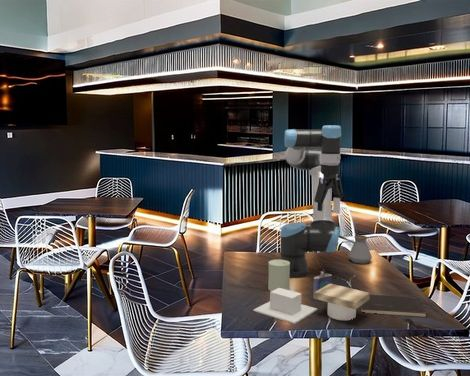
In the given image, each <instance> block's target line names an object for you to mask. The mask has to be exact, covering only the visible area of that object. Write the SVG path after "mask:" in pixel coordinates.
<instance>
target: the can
mask: <svg viewBox="0 0 470 376" xmlns="http://www.w3.org/2000/svg"><path fill="white" fill-rule="evenodd" d="M290 278H291V277H290V262H289V261H286V260H279V259H272V260H269V261H268V283H267V284H268V285H267V289H268V291H270V292H271V291H273V290H275V289H277V288H282V289H286V290H290ZM290 291H291V290H290Z"/></svg>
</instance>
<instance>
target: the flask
mask: <svg viewBox="0 0 470 376" xmlns="http://www.w3.org/2000/svg"><path fill="white" fill-rule="evenodd" d="M312 284H313V287H312V288H313V289H312V299H313V300H314V301H316V300H318V299H315V292H316V291H318V290H319V289H321V288H323V287H325V286H327V285H328V284H333V275H332V274H331V273H325V272H324V271H323V270H322V271H320V274H319V275H317V276H314V277H313V283H312Z"/></svg>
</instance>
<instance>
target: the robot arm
mask: <svg viewBox="0 0 470 376" xmlns="http://www.w3.org/2000/svg"><path fill="white" fill-rule="evenodd" d="M341 141H342V127H341V125H330V124H329V125H323V126H322V128H321V129H296V128H293V129H292V128H291V129H286V130H285V131H284V147H286V148H287V149H286V150H285V153H284V158H285V160H286V163H287V164H289V166H291V167H292V168H294V169H297V170H300V171H308V174H309V175H310V176H312V212H313V213H312V214H313V215H312V216H313V219H312V221H311V222H310V223H309V225H310V226H307V223H305V222H290V223H287V224H284V225H282V226H281V229H280V236H279V237H280V250H279V251H280V256H279V259H278V260H286V261H289V262H290V277H289V278H303V277H306V276H308V275H309V274H310V268H309V265H308V262H307V261H308V260H307V259H306V253H307V252H308V253H309V252H311V253H334V252H335V251H336V250H337V249H338V244H339V243H338V242H339V239H340V238H339V235H340V227H338V226H336V222H335V221H334V220H332V219H333V217H332V213H334V214H338V215H340V212H341V199H342V198H343V197H344V191H343V186H342V182H341V174H340V172H341V171H340V170H341V165H340V164H341ZM331 192H332V193H333V196H334V197H333V205H332V193H331ZM332 206H333V207H332Z"/></svg>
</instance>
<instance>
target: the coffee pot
mask: <svg viewBox="0 0 470 376" xmlns="http://www.w3.org/2000/svg"><path fill="white" fill-rule="evenodd" d="M338 239H342V240H343V241H348V242H349V243H352V244H353V245H352V247H351V248H350V251H349V253H348V258H349V259H350V260H351V261H352V262H353V263H354V264H361V265H362V264H365V265H366V264H367V263H368V262H370V261H372V258H373V257H372V254H371V251H370V249H369V246H368V243H367V239H368V236H366V235H354V239H355V241H354V240H351V239H349V238H346V237H345V236H342V235H340V234H339V238H338Z"/></svg>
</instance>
